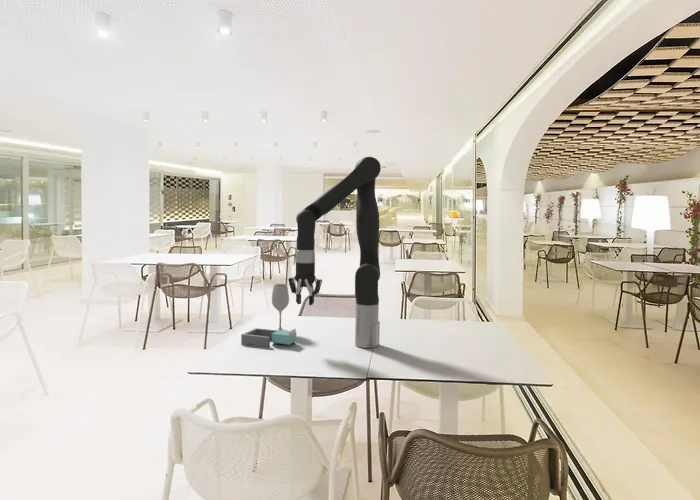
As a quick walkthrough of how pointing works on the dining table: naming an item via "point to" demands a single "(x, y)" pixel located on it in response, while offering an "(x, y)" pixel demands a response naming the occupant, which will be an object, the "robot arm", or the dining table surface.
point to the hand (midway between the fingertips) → (304, 304)
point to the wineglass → (280, 299)
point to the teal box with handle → (284, 338)
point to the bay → (257, 337)
